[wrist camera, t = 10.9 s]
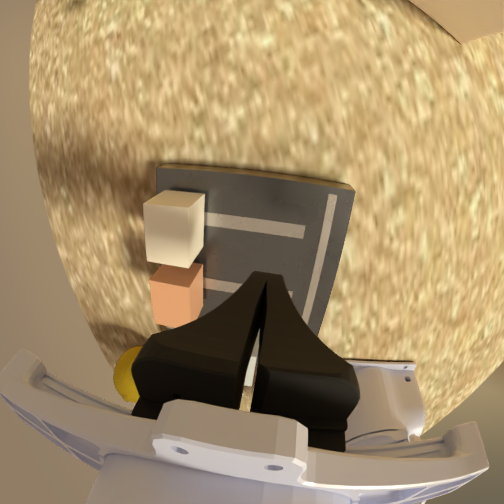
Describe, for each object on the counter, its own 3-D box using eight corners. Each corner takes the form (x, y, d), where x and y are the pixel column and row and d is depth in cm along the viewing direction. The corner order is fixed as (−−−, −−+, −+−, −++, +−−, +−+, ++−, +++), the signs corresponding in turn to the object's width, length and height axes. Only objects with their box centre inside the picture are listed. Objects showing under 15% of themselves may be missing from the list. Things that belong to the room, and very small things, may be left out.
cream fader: (204, 193, 19) (188, 208, 16) (203, 246, 20) (188, 268, 17) (165, 190, 19) (143, 203, 16) (166, 240, 21) (146, 261, 18)
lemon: (124, 334, 30) (93, 381, 23) (159, 330, 29) (128, 384, 22) (147, 365, 32) (123, 412, 25) (181, 364, 31) (159, 417, 24)
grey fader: (261, 329, 23) (256, 357, 20) (256, 359, 25) (251, 386, 22) (226, 323, 23) (217, 350, 20) (225, 354, 25) (217, 380, 22)
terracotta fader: (203, 264, 21) (189, 287, 18) (203, 305, 23) (191, 331, 20) (166, 258, 21) (149, 280, 18) (170, 299, 23) (154, 323, 20)
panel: (349, 184, 19) (355, 191, 18) (305, 357, 27) (305, 372, 26) (167, 163, 20) (156, 167, 19) (175, 335, 29) (169, 348, 27)
